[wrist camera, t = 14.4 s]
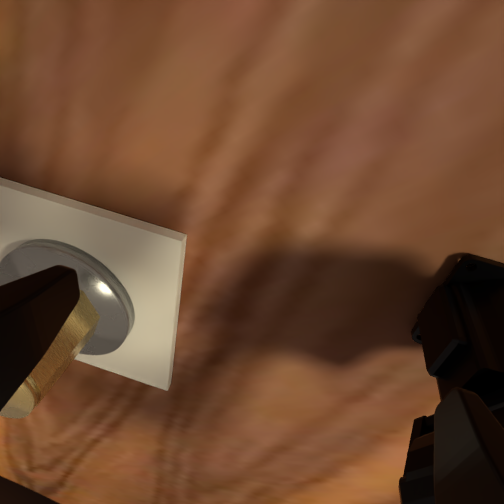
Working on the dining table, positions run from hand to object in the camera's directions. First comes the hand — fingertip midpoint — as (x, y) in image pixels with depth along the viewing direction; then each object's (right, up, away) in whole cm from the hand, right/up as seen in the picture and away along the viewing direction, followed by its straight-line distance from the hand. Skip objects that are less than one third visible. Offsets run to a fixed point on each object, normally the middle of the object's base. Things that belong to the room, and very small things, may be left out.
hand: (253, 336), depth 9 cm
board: (-14, -1, +19) cm, 24 cm away
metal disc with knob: (-13, -1, +19) cm, 23 cm away
